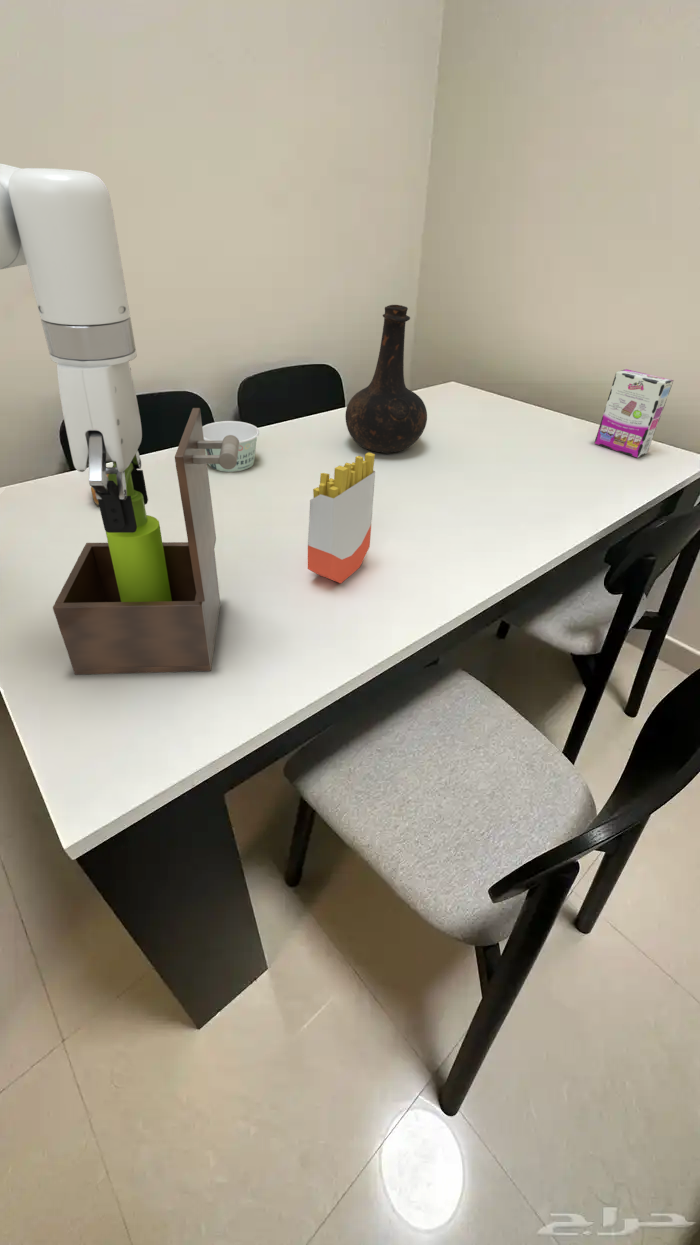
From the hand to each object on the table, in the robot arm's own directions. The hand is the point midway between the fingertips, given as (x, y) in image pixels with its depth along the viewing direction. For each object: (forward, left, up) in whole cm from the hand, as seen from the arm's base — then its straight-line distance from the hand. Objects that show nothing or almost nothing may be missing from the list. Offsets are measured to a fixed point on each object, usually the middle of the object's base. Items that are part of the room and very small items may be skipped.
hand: (127, 515), depth 64 cm
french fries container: (+25, +15, -18) cm, 34 cm away
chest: (0, 0, -17) cm, 17 cm away
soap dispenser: (0, 0, -15) cm, 15 cm away
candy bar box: (+95, +66, -18) cm, 117 cm away
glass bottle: (+39, +66, -18) cm, 79 cm away
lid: (+7, 0, +1) cm, 8 cm away
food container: (+6, +56, -18) cm, 59 cm away
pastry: (-14, +41, -18) cm, 47 cm away
